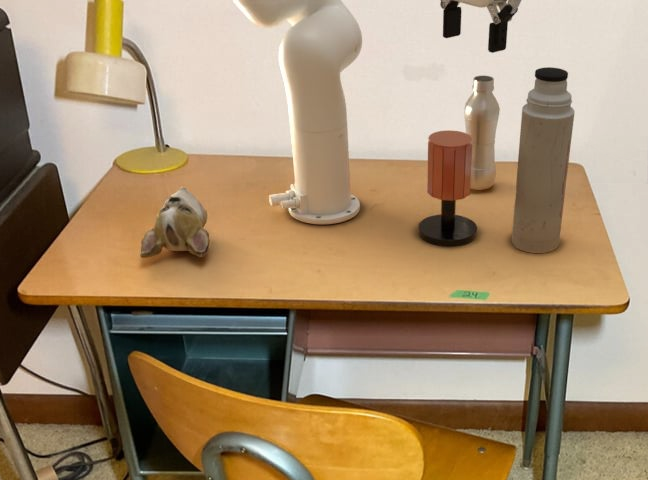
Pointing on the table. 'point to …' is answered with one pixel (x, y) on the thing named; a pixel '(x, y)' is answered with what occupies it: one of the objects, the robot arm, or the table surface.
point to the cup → (449, 165)
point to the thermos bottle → (543, 162)
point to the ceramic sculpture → (178, 227)
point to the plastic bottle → (482, 131)
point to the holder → (447, 227)
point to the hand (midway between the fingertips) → (473, 43)
